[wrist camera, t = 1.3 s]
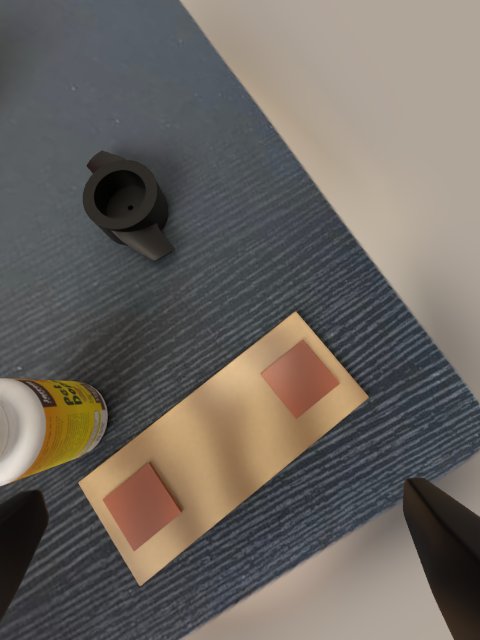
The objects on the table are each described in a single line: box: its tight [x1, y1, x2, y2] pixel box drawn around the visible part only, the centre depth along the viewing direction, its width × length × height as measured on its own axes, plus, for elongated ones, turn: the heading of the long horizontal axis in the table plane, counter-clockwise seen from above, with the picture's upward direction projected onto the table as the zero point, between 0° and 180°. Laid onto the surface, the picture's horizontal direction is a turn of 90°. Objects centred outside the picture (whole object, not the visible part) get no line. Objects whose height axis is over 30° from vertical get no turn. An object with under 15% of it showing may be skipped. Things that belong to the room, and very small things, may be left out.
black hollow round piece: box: [83, 151, 175, 261], centre depth 27 cm, size 8×10×3 cm
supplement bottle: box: [0, 378, 108, 486], centre depth 20 cm, size 6×6×10 cm
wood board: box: [79, 311, 369, 586], centre depth 23 cm, size 20×8×1 cm, turn 128°
